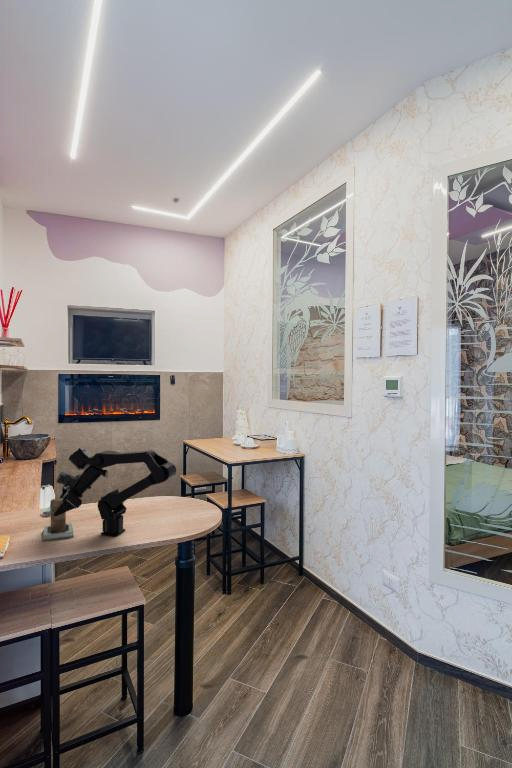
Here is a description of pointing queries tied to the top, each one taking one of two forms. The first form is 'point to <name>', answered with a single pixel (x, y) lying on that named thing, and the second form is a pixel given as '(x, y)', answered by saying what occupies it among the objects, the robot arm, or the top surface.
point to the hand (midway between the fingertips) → (54, 511)
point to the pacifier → (47, 511)
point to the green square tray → (59, 535)
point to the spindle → (57, 517)
